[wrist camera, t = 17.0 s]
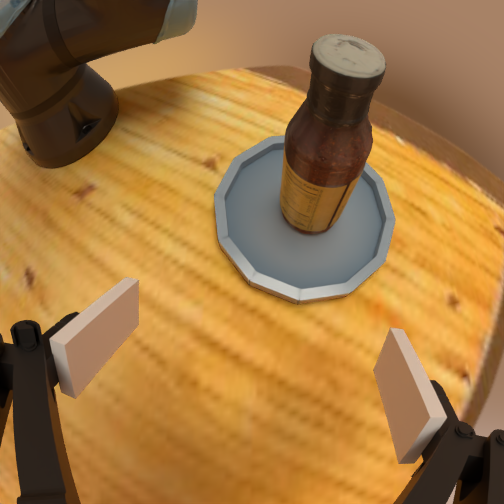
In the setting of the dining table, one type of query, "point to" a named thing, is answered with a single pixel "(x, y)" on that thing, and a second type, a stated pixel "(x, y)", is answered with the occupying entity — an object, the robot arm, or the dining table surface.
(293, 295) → the serving plate
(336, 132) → the sauce bottle
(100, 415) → the dining table surface
